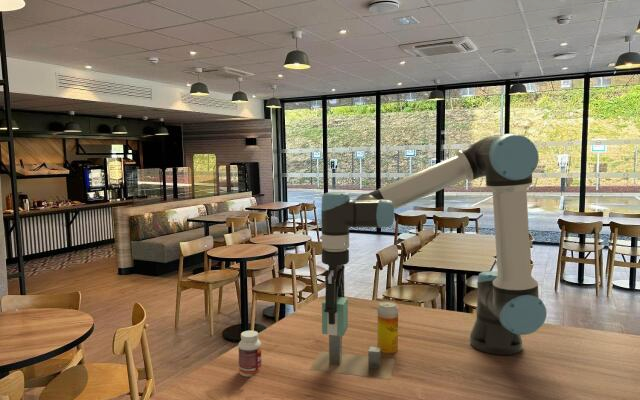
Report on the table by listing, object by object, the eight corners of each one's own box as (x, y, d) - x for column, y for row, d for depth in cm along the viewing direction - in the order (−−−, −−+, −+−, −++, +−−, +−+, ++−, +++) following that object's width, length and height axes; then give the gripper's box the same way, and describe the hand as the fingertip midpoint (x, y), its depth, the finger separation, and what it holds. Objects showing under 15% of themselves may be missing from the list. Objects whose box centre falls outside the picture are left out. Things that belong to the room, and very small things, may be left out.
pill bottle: (262, 376, 127) (262, 337, 126) (239, 378, 126) (238, 339, 124) (260, 365, 133) (259, 328, 132) (238, 368, 132) (237, 330, 130)
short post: (380, 364, 130) (380, 347, 130) (379, 369, 128) (379, 352, 127) (369, 363, 131) (370, 346, 131) (368, 368, 128) (368, 351, 128)
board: (394, 363, 134) (395, 359, 134) (390, 383, 123) (390, 379, 122) (320, 355, 140) (320, 351, 140) (309, 373, 128) (309, 369, 128)
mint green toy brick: (347, 327, 133) (348, 297, 132) (343, 335, 128) (343, 304, 127) (327, 325, 135) (327, 296, 134) (322, 333, 129) (322, 302, 128)
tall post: (341, 360, 133) (341, 330, 132) (339, 365, 130) (339, 334, 129) (331, 359, 134) (331, 329, 133) (329, 364, 131) (329, 333, 130)
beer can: (397, 357, 138) (397, 308, 136) (376, 355, 139) (376, 306, 137) (398, 348, 144) (398, 301, 142) (378, 347, 145) (378, 300, 143)
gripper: (330, 241, 139) (330, 317, 141) (312, 255, 120) (313, 342, 123) (355, 242, 137) (354, 319, 139) (341, 257, 119) (341, 345, 121)
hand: (335, 329), depth 131 cm, fingers closed on mint green toy brick, 6 cm apart
